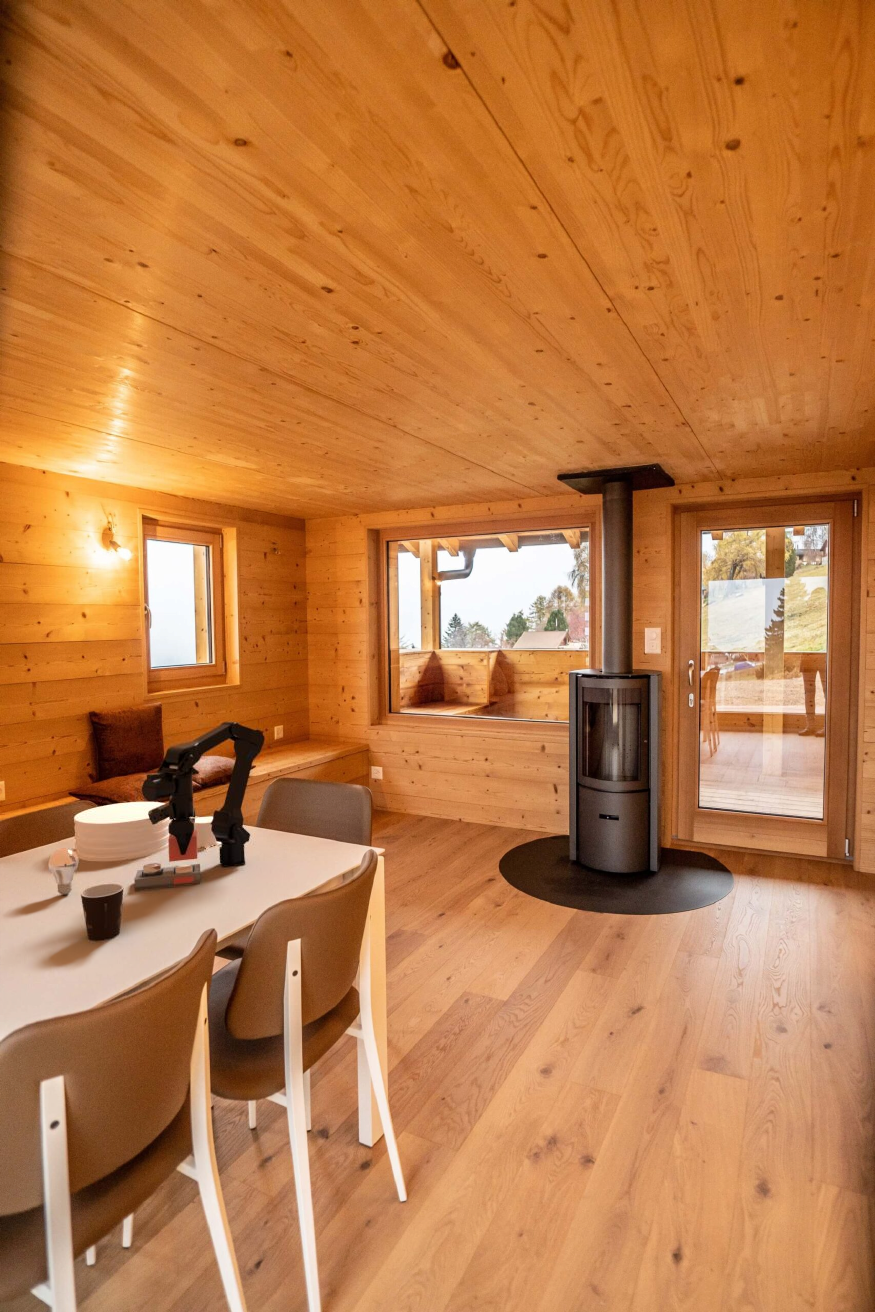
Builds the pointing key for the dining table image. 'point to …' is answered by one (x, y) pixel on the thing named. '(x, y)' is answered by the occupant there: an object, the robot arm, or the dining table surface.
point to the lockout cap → (175, 852)
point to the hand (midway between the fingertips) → (183, 851)
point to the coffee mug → (102, 911)
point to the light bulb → (64, 868)
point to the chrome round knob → (151, 869)
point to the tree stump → (204, 832)
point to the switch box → (167, 878)
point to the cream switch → (184, 869)
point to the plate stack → (119, 832)
